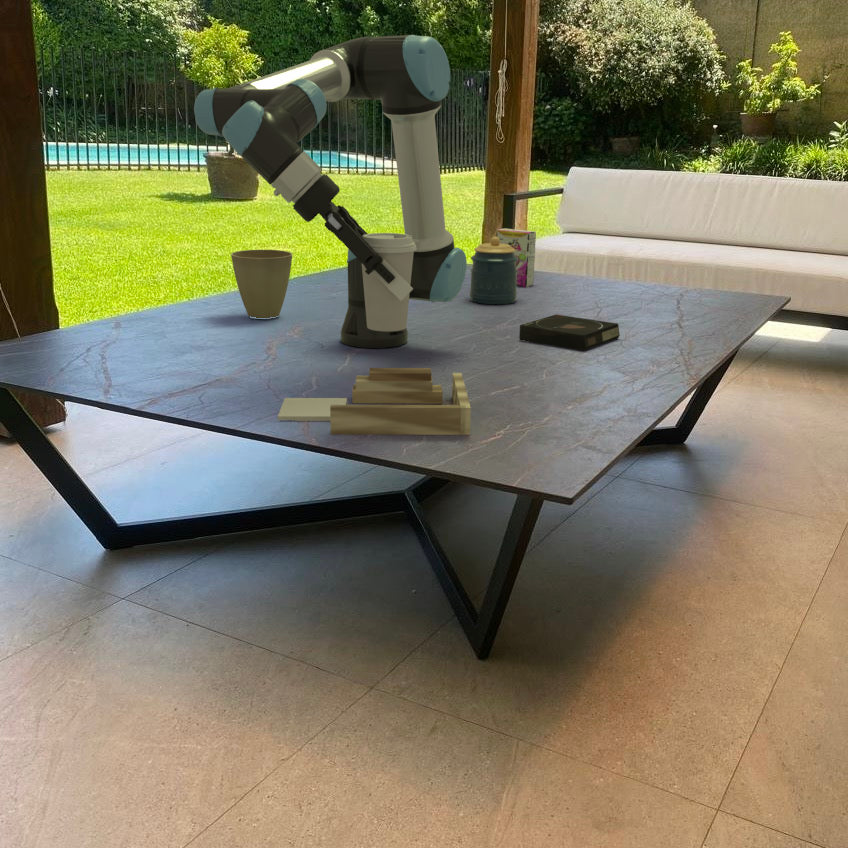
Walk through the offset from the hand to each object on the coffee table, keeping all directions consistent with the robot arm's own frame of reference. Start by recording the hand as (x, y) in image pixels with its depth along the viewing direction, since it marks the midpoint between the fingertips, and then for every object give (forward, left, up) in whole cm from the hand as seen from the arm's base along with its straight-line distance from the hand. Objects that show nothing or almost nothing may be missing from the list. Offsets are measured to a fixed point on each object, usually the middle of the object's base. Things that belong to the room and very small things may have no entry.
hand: (405, 289), depth 159 cm
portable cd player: (-60, +39, -22) cm, 75 cm away
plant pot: (-83, -34, -22) cm, 93 cm away
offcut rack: (0, -1, -22) cm, 22 cm away
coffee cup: (0, -3, -7) cm, 7 cm away
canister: (-108, +26, -22) cm, 113 cm away
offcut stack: (-10, -1, -22) cm, 24 cm away
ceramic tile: (-3, -16, -22) cm, 27 cm away
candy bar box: (-135, +35, -22) cm, 141 cm away
